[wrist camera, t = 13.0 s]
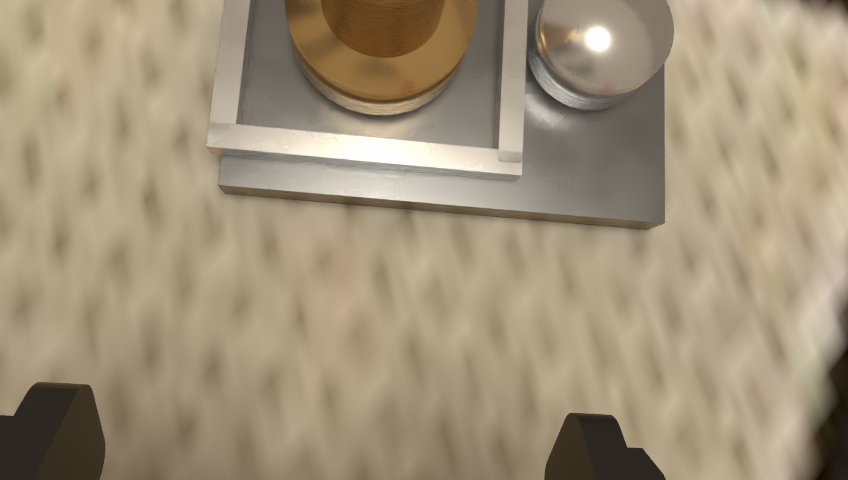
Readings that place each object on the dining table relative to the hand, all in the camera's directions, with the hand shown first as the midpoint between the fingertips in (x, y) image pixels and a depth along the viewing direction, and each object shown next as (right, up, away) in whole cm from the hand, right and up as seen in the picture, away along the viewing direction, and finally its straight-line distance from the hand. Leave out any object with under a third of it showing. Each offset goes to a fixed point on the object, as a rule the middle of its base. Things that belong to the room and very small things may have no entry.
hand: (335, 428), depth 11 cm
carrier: (+3, +10, +12) cm, 16 cm away
